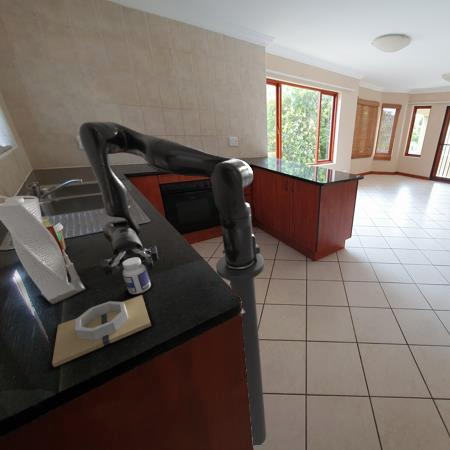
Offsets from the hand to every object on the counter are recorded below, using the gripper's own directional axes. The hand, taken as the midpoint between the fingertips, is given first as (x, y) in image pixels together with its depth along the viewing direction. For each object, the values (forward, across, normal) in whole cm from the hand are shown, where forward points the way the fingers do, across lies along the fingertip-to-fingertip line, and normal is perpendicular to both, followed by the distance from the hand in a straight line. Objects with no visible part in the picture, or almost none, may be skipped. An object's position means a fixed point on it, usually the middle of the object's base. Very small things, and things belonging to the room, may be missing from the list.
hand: (134, 271), depth 61 cm
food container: (-42, -22, +7) cm, 48 cm away
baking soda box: (-27, -19, +7) cm, 34 cm away
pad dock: (+9, -8, +7) cm, 14 cm away
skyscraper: (-13, -17, +7) cm, 23 cm away
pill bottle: (-2, 0, +7) cm, 8 cm away
